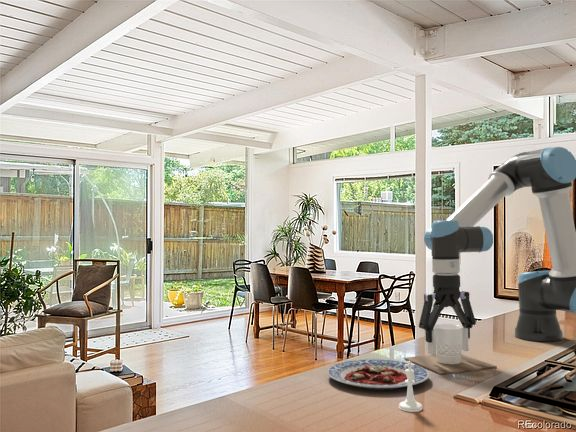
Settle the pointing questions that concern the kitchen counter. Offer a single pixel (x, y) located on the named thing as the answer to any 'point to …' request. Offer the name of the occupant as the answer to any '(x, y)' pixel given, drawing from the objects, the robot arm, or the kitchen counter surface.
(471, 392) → the kitchen counter surface
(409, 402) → the chess piece
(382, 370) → the ceramic plate
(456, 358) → the white cup
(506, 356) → the kitchen counter surface
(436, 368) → the plate
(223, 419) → the kitchen counter surface
